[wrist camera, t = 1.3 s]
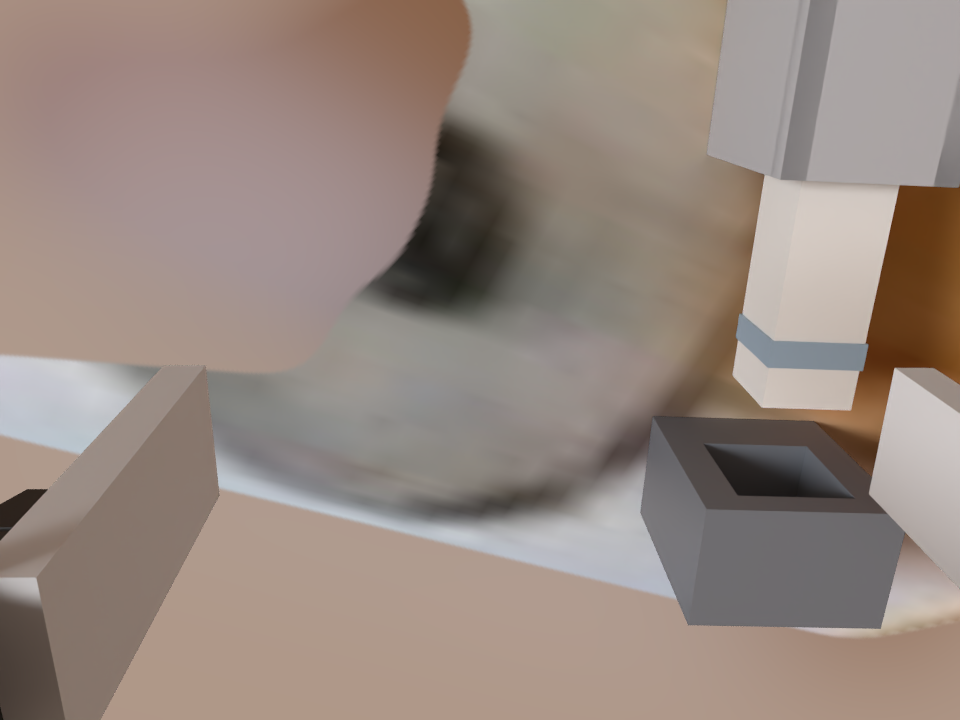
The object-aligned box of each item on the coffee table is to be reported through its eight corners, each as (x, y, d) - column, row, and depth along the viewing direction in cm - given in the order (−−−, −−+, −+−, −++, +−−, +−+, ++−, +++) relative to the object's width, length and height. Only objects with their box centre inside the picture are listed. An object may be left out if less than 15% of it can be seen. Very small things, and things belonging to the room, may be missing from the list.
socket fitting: (652, 416, 45) (706, 509, 35) (813, 421, 45) (909, 514, 36) (640, 512, 47) (688, 624, 37) (794, 516, 47) (880, 628, 38)
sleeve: (734, -49, 37) (825, -86, 28) (885, -41, 37) (1021, -74, 28) (706, 154, 40) (779, 179, 31) (846, 161, 40) (958, 187, 31)
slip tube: (799, -60, 33) (846, -77, 29) (899, -54, 34) (958, -71, 30) (729, 374, 40) (760, 408, 36) (814, 377, 40) (854, 411, 36)
